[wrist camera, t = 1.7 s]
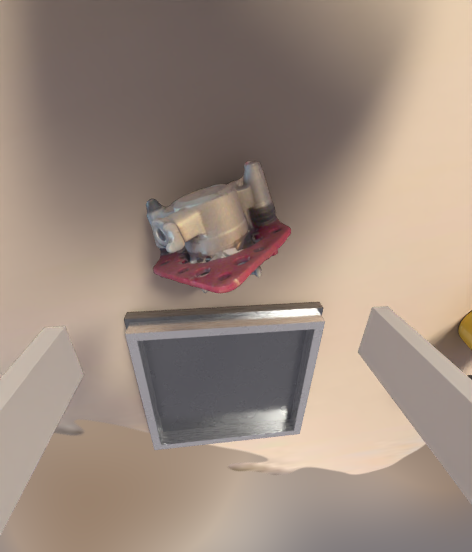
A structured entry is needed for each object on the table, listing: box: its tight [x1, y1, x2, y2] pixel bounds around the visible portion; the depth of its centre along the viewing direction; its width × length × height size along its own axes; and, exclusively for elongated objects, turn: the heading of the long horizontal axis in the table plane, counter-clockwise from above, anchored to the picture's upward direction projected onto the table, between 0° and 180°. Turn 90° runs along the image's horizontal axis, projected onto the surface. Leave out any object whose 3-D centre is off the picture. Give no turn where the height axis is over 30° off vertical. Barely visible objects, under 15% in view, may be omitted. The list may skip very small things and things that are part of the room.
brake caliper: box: [146, 161, 291, 293], centre depth 20 cm, size 11×11×12 cm
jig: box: [124, 302, 325, 450], centre depth 32 cm, size 22×22×3 cm
